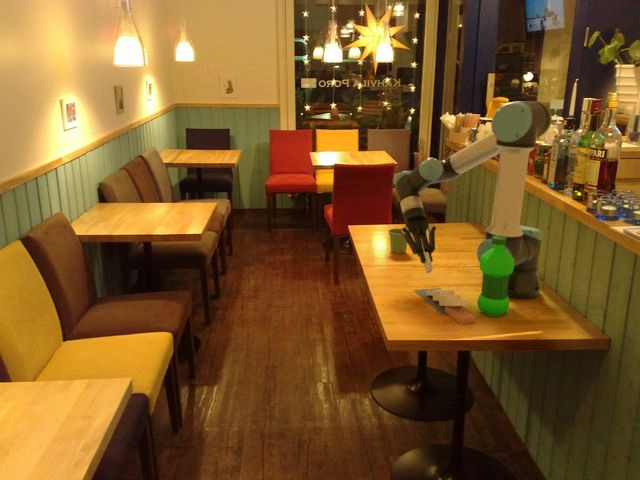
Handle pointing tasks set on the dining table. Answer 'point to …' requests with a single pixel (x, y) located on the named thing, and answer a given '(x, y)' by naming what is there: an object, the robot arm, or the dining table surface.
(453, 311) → the domino
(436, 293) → the domino
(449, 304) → the domino
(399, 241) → the plant pot
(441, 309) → the mat
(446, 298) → the domino
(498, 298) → the plastic bottle
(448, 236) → the dining table surface
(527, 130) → the robot arm
